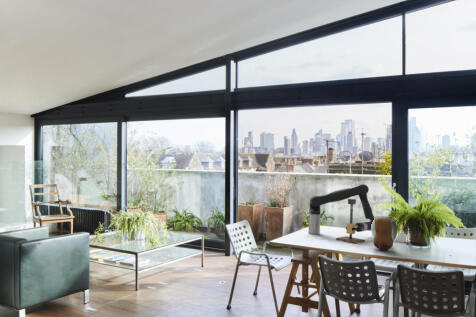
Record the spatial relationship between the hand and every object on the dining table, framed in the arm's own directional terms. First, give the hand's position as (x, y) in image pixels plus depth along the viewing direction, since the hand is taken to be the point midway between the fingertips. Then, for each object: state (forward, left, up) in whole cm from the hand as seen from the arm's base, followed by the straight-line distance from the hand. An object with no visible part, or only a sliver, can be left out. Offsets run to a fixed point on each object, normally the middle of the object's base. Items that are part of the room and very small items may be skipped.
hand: (349, 228), depth 342 cm
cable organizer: (+38, +27, -10) cm, 48 cm away
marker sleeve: (+1, +2, -4) cm, 5 cm away
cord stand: (+1, +2, -10) cm, 10 cm away
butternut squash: (+30, -19, -10) cm, 37 cm away
